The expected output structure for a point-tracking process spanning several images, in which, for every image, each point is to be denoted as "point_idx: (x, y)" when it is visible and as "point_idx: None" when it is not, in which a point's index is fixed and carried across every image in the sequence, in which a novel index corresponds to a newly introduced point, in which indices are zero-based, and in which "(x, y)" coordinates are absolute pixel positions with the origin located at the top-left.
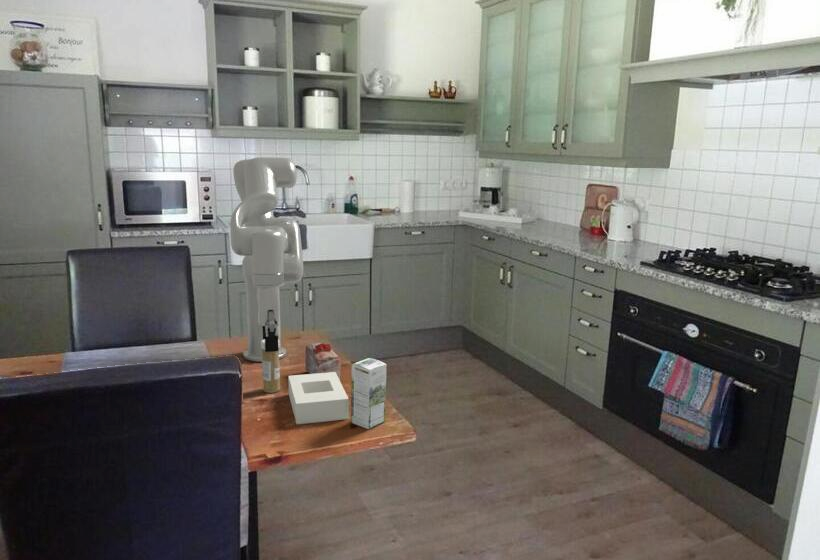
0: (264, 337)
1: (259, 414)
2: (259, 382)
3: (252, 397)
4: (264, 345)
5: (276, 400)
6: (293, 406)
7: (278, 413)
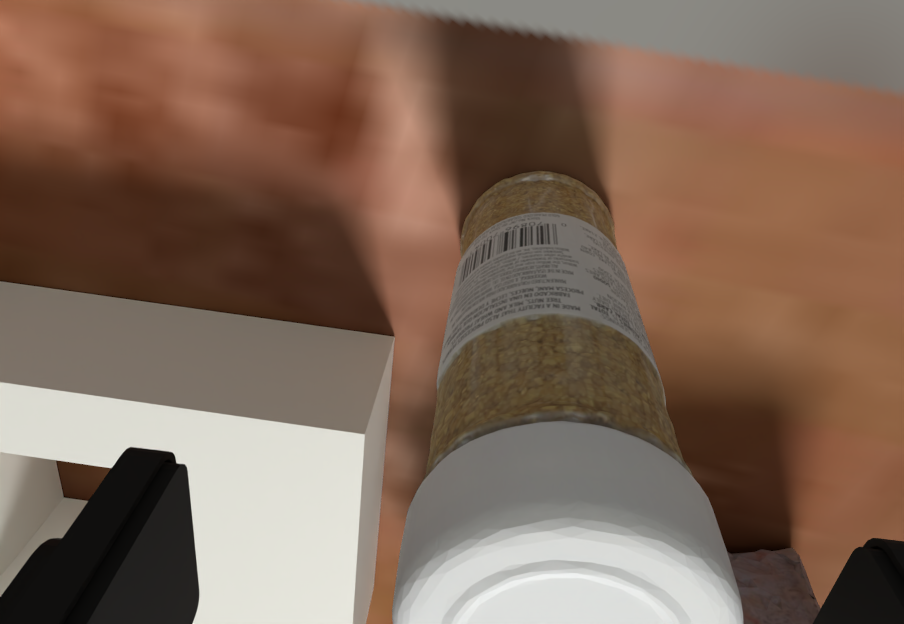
0: (889, 613)
1: (36, 39)
2: (776, 178)
3: (428, 46)
4: (451, 504)
5: (301, 228)
6: (8, 311)
7: (46, 188)
